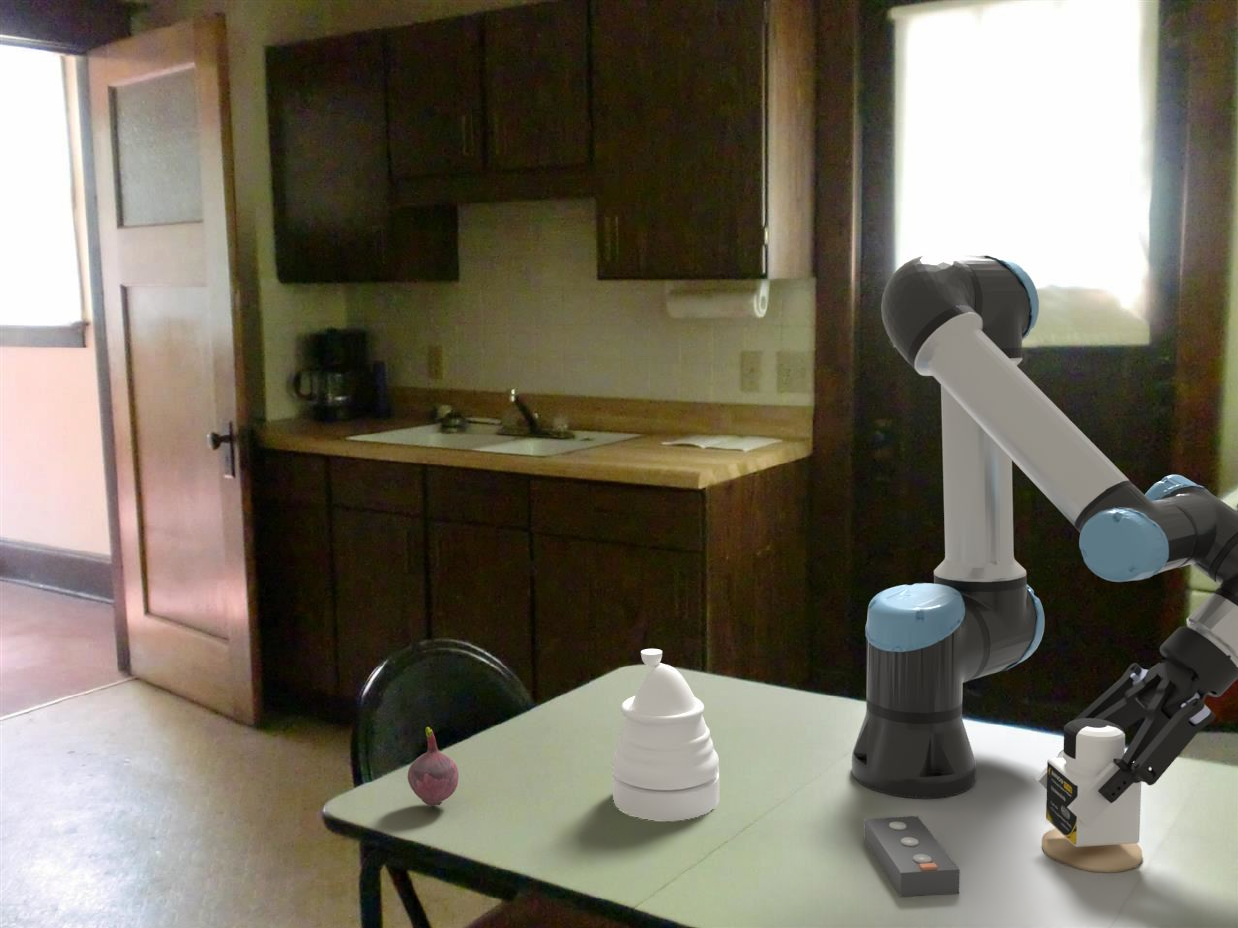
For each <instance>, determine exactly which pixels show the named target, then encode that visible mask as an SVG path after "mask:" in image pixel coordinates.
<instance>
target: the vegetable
mask: <svg viewBox="0 0 1238 928" xmlns="http://www.w3.org/2000/svg"><path fill="white" fill-rule="evenodd" d="M424 735H425V736H426V737H425V738H426V741H427V750H426V752H425V753H423V754H421V755H420V756H418V757H417V758H416V759H415V760H414V761H413V762H412V764H410V766H409V768H408V770H407V771H408V772H407V781H408V784H409V786H410V788H411V790H412V791H413V792H414V794H415V795H416V796H417V797H418V798H420V800H421V802H423V803H425V805H427V806H429V807H432V806H434V807H435V806H436V807H437V806H441V805H442V804H443V801H445V800H447V799H449V798H450V797H451V796H452V795H453V794H454V793H455V791H456V790H457V787H458V783H459V769H458V766H457V764H456V762H454V760H452V759H451V757H449V756H447V755H446V754H444V753H442V752H441V750H439V749H438V744H437V740H436V737H435V735H434V732H433V730H432V728H430V727H429V726H426V727H425V734H424Z"/></svg>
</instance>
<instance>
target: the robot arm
mask: <svg viewBox="0 0 1238 928" xmlns="http://www.w3.org/2000/svg"><path fill="white" fill-rule="evenodd" d="M1039 300H1040V299H1039V294H1038V291H1037V288H1036V286H1035V284H1034V281H1033V280H1032V278H1031V277H1030V275H1029V274H1028V273H1027V272H1026V271H1025V270H1024V269H1023V268H1022V267H1021V266H1020V265H1018V264H1017V263H1015V262H1013V261H1011V260H1010V259H1006V258H1002V257H996V256H991V255H989V254H985V255H983V254H982V255H980V254H978V255H977V254H976V255H944V254H926V255H922V256H921V255H920V256H918V257H915V258H913V259H911V260H909V261H907V262H905V263H904V264H902V265H901V266H900V267H899V268H898V269H897V270H896V271H895V272H894V273H893V274H892V275H891V277H890V278H889V280H888V282H887V284H886V285H885V287H884V289H883V293H882V296H881V304H880V305H881V306H880V307H881V309H880V310H881V319H882V323H883V326H884V329H885V332H886V334H887V336H888V337H889V339H890V341H891V342H892V344H893V346H894V347H895V348H896V350H897V351H898V352H899V354H900V355H901V356H902V357H903V358H904V360H905V361H906V362H907V363H908V364H909V365H910V366H911V367H912V368H913V369H914V370H915V372H917V373H918V375H920V376H924V377H930V376H931V377H933V378H934V379H935V380H936V381H937V383H939V384H940V392H941V393H940V395H941V396H940V397H941V398H940V400H941V403H940V404H941V437H942V438H941V439H942V440H941V441H942V445H941V446H942V476H943V477H942V478H943V479H942V481H943V482H942V483H943V513H944V514H943V515H944V516H943V517H944V521H943V523H944V552H945V553H944V559H943V560H942V562H940V564H939V565H937V567H936V568H935V569H934V570H933V583H929V582H928V583H927V582H918V583H913V584H909V585H908V584H902V585H896V586H892V587H890V588H886V589H884V590H881V591H880V592H879V593H877V594H876V595H875V596H873V597H872V599H871V600H870V602H869V604H868V607H867V618H866V619H867V620H866V624H865V627H864V628H865V629H864V632H865V633H864V635H865V637H866V639H865V648H866V649H865V650H866V651H865V653H866V654H865V661H866V662H865V664H866V666H865V668H866V670H865V671H866V675H865V677H866V678H865V681H866V682H865V684H866V685H865V688H866V689H865V692H866V694H865V695H866V699H865V700H866V702H865V703H866V707H865V710H866V711H865V714H864V715H865V716H864V718H863V721H862V724H861V726H860V727H861V728H860V730H859V733H858V736H857V738H856V742H855V744H854V748H853V750H852V755H851V773H852V775H853V777H854V778H855V779H856V781H858V782H859V783H860V784H862V785H864V786H866V787H868V788H870V789H873V790H875V791H878V792H881V793H885V794H889V795H894V796H900V797H906V798H907V797H908V798H919V799H920V798H923V799H926V798H927V799H928V798H929V799H930V798H931V799H932V798H944V797H949V796H954V795H955V796H956V795H958V794H961V793H963V792H966V791H968V790H970V789H971V788H972V787H973V786H974V785H975V783H976V780H977V779H976V778H977V777H976V776H977V766H976V765H977V763H976V758H975V756H974V755H975V754H974V753H973V749H972V745H971V743H970V740H969V736H968V733H967V730H966V726H965V725H964V721H963V689H964V687H963V685H964V684H963V683H967V682H970V681H972V680H975V679H979V678H982V677H985V676H988V675H992V674H995V673H999V672H1000V673H1001V672H1005V671H1008V670H1009V669H1011V668H1013V667H1015V666H1017V665H1018V664H1020V663H1022V662H1024V661H1025V660H1027V659H1028V658H1029V657H1031V656H1032V655H1033V653H1034V652H1036V651H1037V649H1038V647H1039V645H1040V643H1041V641H1042V638H1043V637H1044V636H1043V635H1044V632H1045V621H1046V620H1045V612H1044V608H1043V605H1042V602H1041V600H1040V598H1039V597H1037V596H1036V595H1035V594H1034V593H1035V591H1034V590H1033V588H1032V587H1031V586H1030V585H1029V584H1028V583H1027V579H1028V577H1027V570H1026V569H1025V568H1024V567H1023V566H1022V565H1021V564H1020V563H1019V562H1018V561H1017V560H1016V559H1015V555H1014V552H1015V551H1014V506H1013V505H1014V502H1013V501H1014V500H1013V463H1014V464H1015V465H1016V466H1017V467H1018V469H1020V470H1021V471H1022V472H1023V473H1024V474H1025V475H1026V476H1027V478H1029V480H1030V481H1031V482H1032V483H1033V484H1034V485H1035V486H1036V487H1037V488H1038V489H1039V491H1040V492H1041V493H1042V494H1044V495H1045V497H1046V498H1047V499H1048V500H1049V501H1050V502H1051V503H1052V504H1053V505H1054V507H1056V508H1057V509H1058V511H1059V512H1060V513H1062V515H1063V516H1064V517H1065V518H1066V519H1067V521H1069V522H1070V523H1071V525H1073V526H1074V528H1075V529H1076V530H1077V531H1078V532H1079V533H1080V534H1079V539H1078V541H1079V543H1078V544H1079V550H1080V553H1081V556H1082V557H1083V562H1084V563H1085V566H1087V568H1088V569H1089V570H1090V571H1091V572H1092V573H1094V574H1095V575H1096V576H1097V577H1100V578H1101V579H1103V580H1105V581H1108V582H1114V583H1115V582H1116V583H1123V582H1131V581H1141V580H1146V579H1150V578H1151V577H1153V576H1154V575H1158V574H1160V573H1163V572H1166V571H1169V570H1170V571H1171V570H1176V569H1178V568H1182V567H1186V566H1188V565H1190V566H1192V567H1193V568H1195V569H1197V570H1198V571H1199V572H1201V573H1202V574H1204V576H1207V578H1209V579H1211V580H1212V581H1213V582H1215V583H1216V584H1219V586H1218V587H1217V588H1216V589H1215V590H1214V591H1213V592H1211V594H1210V595H1209V596H1208V597H1207V598H1205V600H1204V601H1203V602H1202V603H1201V604H1200V605H1199V606H1198V607H1197V608H1196V609H1195V610H1194V611H1193V612H1192V613H1190V615H1189V616H1188V617H1187V618H1186V625H1187V626H1186V625H1184V626H1183V625H1182V626H1179V627H1178V628H1177V629H1176V630H1175V631H1174V632H1173V633H1172V634H1171V635H1170V636H1169V637H1168V638H1167V639H1166V640H1165V641H1164V642H1163V643H1162V644H1161V645H1160V647H1159V652H1160V654H1161V655H1162V659H1161V661H1160V662H1158V663H1156V664H1155V665H1154V666H1152V667H1150V668H1149V669H1144V668H1142V667H1141V666H1140V665H1139V664H1138V663H1137V662H1134V663H1132V664H1130V665H1129V666H1128V667H1127V669H1126V671H1125V672H1124V673H1123V674H1122V676H1121V677H1120V678H1119V679H1118V680H1116V682H1114V684H1112V685H1111V686H1110V687H1109V688H1108V689H1107V690H1105V691H1104V692H1103V693H1102V694H1101V695H1100V696H1099V697H1098V698H1096V699H1095V700H1094V701H1093V702H1092V703H1091V704H1089V705H1088V706H1087V707H1086V708H1085V709H1084V710H1083V711H1082V712H1081V713H1080V714H1078V716H1075V718H1074V719H1073V720H1077V719H1081V718H1095V719H1102V720H1106V721H1109V722H1112V723H1114V724H1116V725H1118V726H1119V727H1121V728H1122V729H1123V731H1124V730H1126V729H1127V728H1129V727H1130V726H1131V725H1133V724H1134V723H1136V722H1138V721H1139V720H1141V719H1144V721H1143V722H1142V724H1141V725H1140V727H1139V729H1138V731H1137V733H1136V734H1135V735H1134V736H1133V739H1132V740H1131V742H1130V744H1129V745H1128V747H1127V748H1126V750H1125V753H1124V755H1123V757H1122V758H1121V759H1117V758H1116V759H1115V758H1114V759H1113V762H1114V763H1115V764H1116V765H1117V766H1118V767H1119V769H1118V768H1117V767H1116V766H1115V765H1114V764H1113V763H1110V764H1109V765H1108V766H1107V767H1106V768H1105V769H1104V770H1103V771H1102V772H1101V773H1100V774H1099V775H1098V776H1097V777H1096V778H1095V779H1094V780H1093V781H1092V782H1091V783H1090V785H1089V786H1088V787H1087V788H1086V789H1085V790H1084V791H1083V792H1082V793H1081V794H1080V795H1079V796H1078V797H1077V798H1076V799H1075V800H1074V801H1073V802H1072V803H1071V804H1070V805H1069V806H1068V807H1067V808H1068V809H1069V810H1070V811H1071V812H1072V813H1073V814H1075V815H1076V816H1077V817H1078V818H1079V819H1080V820H1081V821H1082V822H1083V823H1084V824H1085V825H1086V826H1087V827H1088V826H1089V825H1090V824H1091V823H1092V822H1093V821H1094V820H1095V819H1096V818H1097V817H1098V816H1099V815H1100V814H1101V813H1102V812H1103V811H1104V810H1105V809H1106V808H1107V807H1108V806H1109V805H1110V804H1111V803H1113V802H1114V801H1116V800H1117V799H1118V798H1119V796H1121V795H1122V793H1124V792H1125V791H1126V790H1127V789H1128V788H1129V787H1130V786H1131V785H1132V784H1133V783H1139V782H1140V781H1141V783H1146V785H1147V786H1153V785H1155V784H1156V783H1157V781H1158V780H1159V779H1160V778H1161V777H1162V776H1163V774H1164V773H1165V772H1166V771H1167V770H1168V769H1169V767H1170V766H1171V765H1172V764H1173V763H1174V761H1175V760H1176V759H1177V758H1178V757H1179V756H1180V755H1181V753H1182V752H1183V751H1184V749H1186V747H1187V746H1188V745H1189V744H1190V742H1191V741H1192V740H1193V739H1194V738H1195V736H1196V735H1197V734H1198V733H1199V732H1200V731H1201V730H1203V729H1204V728H1205V727H1206V726H1208V725H1209V724H1210V723H1212V722H1213V721H1214V720H1215V718H1216V714H1215V713H1214V712H1213V711H1212V710H1211V709H1210V708H1209V707H1208V706H1207V705H1206V704H1205V703H1204V701H1205V699H1206V698H1207V695H1208V696H1210V697H1214V698H1219V697H1221V696H1222V695H1224V694H1225V692H1226V691H1227V690H1228V689H1229V688H1230V687H1231V686H1232V685H1233V684H1234V683H1235V682H1236V681H1237V680H1238V510H1236V509H1234V508H1233V507H1231V506H1230V505H1229V504H1227V503H1225V502H1224V501H1222V499H1220V498H1218V497H1216V496H1215V495H1213V494H1212V493H1211V492H1210V491H1209V489H1207V488H1205V486H1202V485H1200V484H1197V483H1195V482H1193V481H1191V480H1190V479H1188V478H1186V477H1184V476H1183V475H1180V474H1170V475H1167V476H1164V477H1163V478H1162V479H1161V480H1160V481H1157V482H1155V483H1154V484H1153V485H1152V486H1151V487H1150V488H1149V489H1148V490H1147V492H1145V494H1144V493H1143V492H1142V491H1141V490H1140V489H1139V488H1138V487H1137V486H1136V485H1134V483H1132V481H1130V479H1129V478H1128V477H1127V476H1126V475H1125V474H1124V473H1123V472H1122V471H1121V470H1120V469H1119V468H1118V467H1117V466H1116V465H1115V464H1114V463H1113V462H1112V461H1111V459H1109V458H1108V457H1107V456H1106V455H1105V454H1104V453H1103V452H1102V451H1101V450H1100V449H1099V448H1098V447H1097V446H1096V445H1095V443H1094V442H1092V441H1091V439H1089V438H1088V437H1087V436H1086V435H1085V434H1084V433H1083V432H1082V430H1080V429H1079V428H1078V426H1077V425H1076V424H1075V423H1073V421H1071V420H1070V418H1069V417H1068V416H1067V415H1066V414H1065V413H1064V412H1063V411H1062V410H1061V409H1060V408H1059V407H1057V405H1056V404H1055V403H1054V402H1053V401H1052V400H1051V399H1050V398H1049V397H1048V396H1047V395H1046V394H1045V393H1044V392H1043V391H1042V390H1041V389H1040V388H1039V386H1037V385H1036V384H1035V383H1034V382H1033V381H1032V380H1031V379H1030V377H1028V376H1027V374H1025V373H1024V372H1023V371H1022V369H1020V368H1019V367H1018V365H1019V364H1020V363H1021V362H1022V361H1023V340H1024V339H1026V338H1027V337H1028V336H1029V335H1030V332H1031V330H1032V329H1033V328H1035V327H1036V323H1037V320H1038V317H1039V311H1040V302H1039ZM1063 751H1064V748H1063V749H1062V750H1061V751H1060V752H1059V753H1058V755H1057V756H1056V757H1055V758H1063ZM1035 780H1036V781H1037V782H1038V783H1039V784H1040V785H1041V786H1043V788H1044V789H1045V790H1047V766H1046V767H1045V768H1044V769H1043V770H1042V771H1041V772H1040V773H1039V774H1038V775H1037V776H1036V777H1035Z"/></svg>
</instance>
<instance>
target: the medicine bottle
mask: <svg viewBox="0 0 1238 928" xmlns="http://www.w3.org/2000/svg"><path fill="white" fill-rule="evenodd" d="M1125 748H1126V732H1125V731H1124V730H1123V729H1122V728H1121V727H1119V726H1118V725H1116V724H1114V723H1112V722H1109V721H1106V720H1102V719H1095V718H1081V719H1077V720H1074V719H1073V720H1071V721H1069V722H1067V723H1066V724H1065V725H1064V727H1063V749H1064V751H1063V758H1056V757H1050V758H1048V759H1047V766H1046V767H1047V789H1046V802H1045V803H1046V804H1045V805H1046V806H1045V807H1046V809H1045V815H1046V816H1045V818H1046V819H1045V820H1046V821H1048V822H1049V823H1050V824H1051V825H1052V826H1053V827H1054V829H1055V828H1056V829H1057V830H1058V831H1059V832H1060V833H1061V834H1062V835H1063V836H1065V837H1066V838H1067V839H1068V840H1069V841H1070V842H1071V843H1072V844H1073V845H1074V846H1075V847H1084V846H1101V845H1118V844H1135V843H1137V844H1138V843H1140V831H1141V830H1140V828H1141V825H1140V824H1141V805H1142V804H1141V802H1142V800H1141V799H1142V797H1141V796H1142V782H1141V781H1140V782H1139V783H1133V784H1132V785H1131V786H1130V787H1129V788H1128V789H1127V790H1126V791H1125V792H1124V793H1122V795H1121V796H1119V798H1118V799H1117V800H1116V801H1114V802H1113V803H1111V804H1110V805H1109V806H1108V807H1107V808H1106V809H1105V810H1104V811H1103V812H1102V813H1101V814H1100V815H1099V816H1098V817H1097V818H1096V819H1095V820H1094V821H1093V822H1092V823H1091V824H1090V825H1089V826H1088V827H1087V826H1086V825H1085V824H1084V823H1083V822H1082V821H1081V820H1080V819H1079V818H1078V817H1077V816H1076V815H1075V814H1073V813H1072V812H1071V811H1070V810H1069V809H1068V808H1067V807H1068V806H1069V805H1070V804H1071V803H1072V802H1073V801H1074V800H1075V799H1076V798H1077V797H1078V796H1079V795H1080V794H1081V793H1082V792H1083V791H1084V790H1085V789H1086V788H1087V787H1088V786H1089V785H1090V783H1091V782H1092V781H1093V780H1094V779H1095V778H1096V777H1097V776H1098V775H1099V774H1100V773H1101V772H1102V771H1103V770H1104V769H1105V768H1106V767H1107V766H1108V765H1109V764H1110V763H1113V764H1114V765H1115V766H1116V767H1117V768H1118V769H1119V767H1118V766H1117V765H1116V764H1115V763H1114V762H1113V759H1114V758H1115V759H1116V758H1117V759H1121V758H1122V757H1123V755H1124V754H1125V752H1126V750H1125Z"/></svg>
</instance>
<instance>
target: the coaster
mask: <svg viewBox="0 0 1238 928" xmlns="http://www.w3.org/2000/svg"><path fill="white" fill-rule="evenodd" d="M1041 848H1042V850H1043V852H1044V853H1045V854H1046V855H1047V856H1048V857H1049V858H1051V859H1052V860H1055V861H1056V862H1058V863H1060V864H1063V865H1065V866H1068V867H1071V868H1075V869H1077V870H1078V869H1079V870H1084V871H1087V872H1094V873H1119V872H1125V871H1130V870H1132V869H1135V868H1137V867H1139V865H1140V864H1141V862H1142V860H1143V859H1142V858H1143V851H1142V848H1141V847H1140V845H1139V844H1138V843H1135V844H1118V845H1101V846H1084V847H1075V846H1074V845H1073V844H1072V843H1071V842H1070V841H1069V840H1068V839H1067V838H1066V837H1065V836H1063V835H1062V834H1061V833H1060V832H1059V831H1058V830H1057V829H1056V828H1055V827H1054V828H1053V829H1050V830H1048V831H1046V832H1045V833H1044V834H1043V835H1042V837H1041Z"/></svg>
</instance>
